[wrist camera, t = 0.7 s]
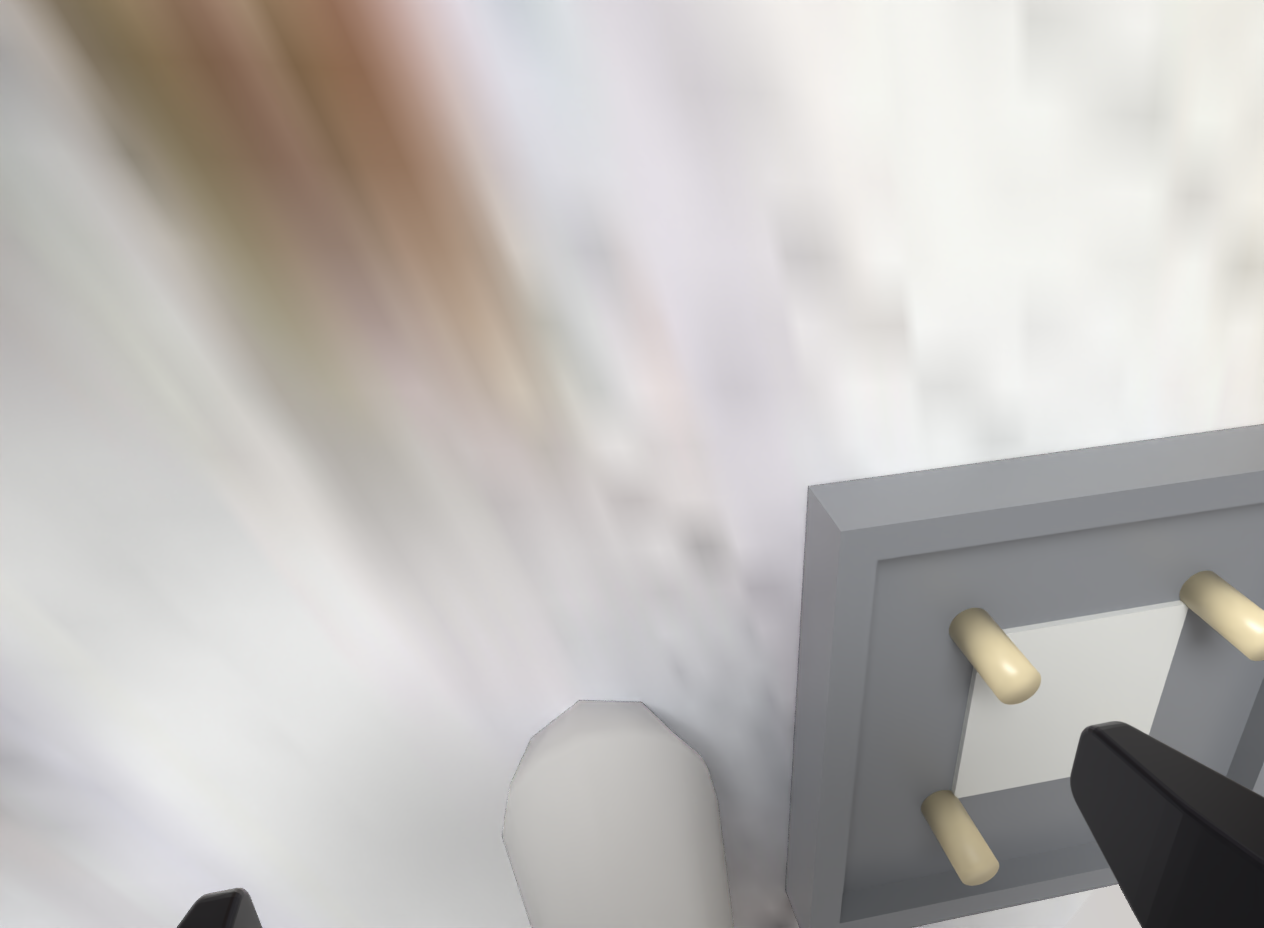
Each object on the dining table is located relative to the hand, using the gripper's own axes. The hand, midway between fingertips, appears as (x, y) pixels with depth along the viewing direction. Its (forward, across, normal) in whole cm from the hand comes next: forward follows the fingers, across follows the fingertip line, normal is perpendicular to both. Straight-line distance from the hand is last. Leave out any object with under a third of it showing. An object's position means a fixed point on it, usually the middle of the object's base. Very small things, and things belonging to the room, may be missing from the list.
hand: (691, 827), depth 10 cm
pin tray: (+13, -14, +12) cm, 23 cm away
